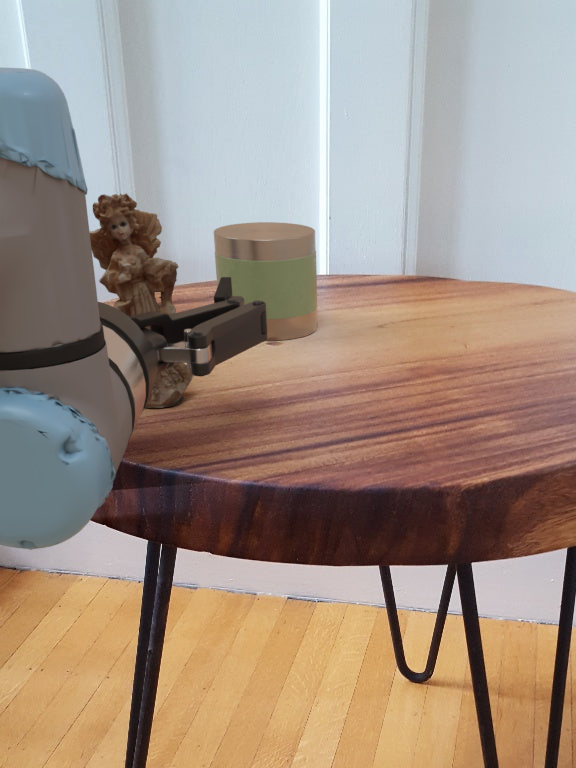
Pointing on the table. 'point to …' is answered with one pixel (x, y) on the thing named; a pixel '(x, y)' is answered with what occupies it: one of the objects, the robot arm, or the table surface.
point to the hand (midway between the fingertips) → (137, 295)
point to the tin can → (272, 272)
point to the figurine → (138, 277)
